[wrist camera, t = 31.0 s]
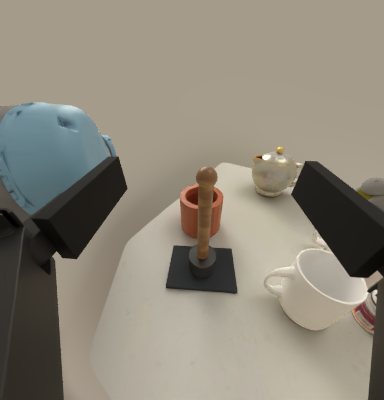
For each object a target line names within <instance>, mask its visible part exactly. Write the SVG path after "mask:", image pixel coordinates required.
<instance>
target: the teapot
mask: <svg viewBox="0 0 384 400" xmlns="http://www.w3.org/2000/svg"><path fill="white" fill-rule="evenodd" d="M283 151H284V148H283V147H278V148H277V151H273V152H268V153H266V154H264V155H259V156H254V157H253V161H254V166H253V169H252V178H253V181H254V183H255V184H256V186H255V189H256V191H257V192H258V193H259V194H261V195H263V196H267V197H276V196H278V195H280V193H281V191H282V190H284V189H286V188H287V187H294V186H295V184H296V182H297V181H296V182H293V181H294V180H295V177H296V174H297V168H301V169H302V168H303V166H304V164H301V163H295V161H294V160H293V158H292V157H291V156H289V155H288V154H286V153H284V152H283Z"/></svg>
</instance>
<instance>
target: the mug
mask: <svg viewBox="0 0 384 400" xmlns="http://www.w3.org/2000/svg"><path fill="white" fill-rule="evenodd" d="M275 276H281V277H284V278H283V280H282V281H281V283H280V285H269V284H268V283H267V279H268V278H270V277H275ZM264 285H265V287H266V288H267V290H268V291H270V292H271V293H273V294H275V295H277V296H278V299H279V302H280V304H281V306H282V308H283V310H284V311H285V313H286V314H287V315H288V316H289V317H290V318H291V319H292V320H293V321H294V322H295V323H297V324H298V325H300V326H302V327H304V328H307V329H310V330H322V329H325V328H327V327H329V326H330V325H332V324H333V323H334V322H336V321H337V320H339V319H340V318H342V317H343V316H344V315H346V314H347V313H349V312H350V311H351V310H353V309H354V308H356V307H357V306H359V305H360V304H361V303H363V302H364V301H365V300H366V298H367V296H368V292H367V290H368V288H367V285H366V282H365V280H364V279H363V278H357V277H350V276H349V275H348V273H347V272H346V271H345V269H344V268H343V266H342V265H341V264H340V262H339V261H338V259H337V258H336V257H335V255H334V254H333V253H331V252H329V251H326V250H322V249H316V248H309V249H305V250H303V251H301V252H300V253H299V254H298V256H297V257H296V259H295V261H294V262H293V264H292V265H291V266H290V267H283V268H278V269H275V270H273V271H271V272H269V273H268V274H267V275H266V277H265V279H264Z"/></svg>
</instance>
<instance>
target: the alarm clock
mask: <svg viewBox="0 0 384 400" xmlns="http://www.w3.org/2000/svg"><path fill="white" fill-rule="evenodd" d="M355 191H356V192H358V193H359V194H360V195H362V196H363V197H364V198H366V199H367V200H368V201H370V202H371V203H373V204H375V205H377V206H378V207H380V208H381V209H382V210H384V179H383V178H371V179H369V180H366V181H365V182H364V183H363V184H362V186H361V187H359V188H357V189H355Z"/></svg>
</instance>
